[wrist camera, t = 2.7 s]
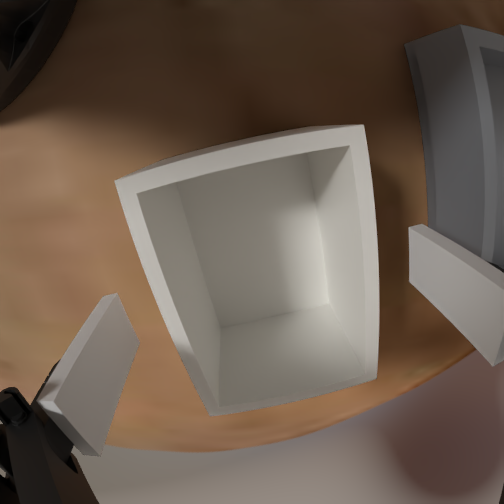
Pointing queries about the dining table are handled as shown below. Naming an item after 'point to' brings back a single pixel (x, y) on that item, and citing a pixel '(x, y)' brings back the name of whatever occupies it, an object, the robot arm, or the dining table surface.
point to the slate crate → (463, 134)
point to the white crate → (264, 263)
